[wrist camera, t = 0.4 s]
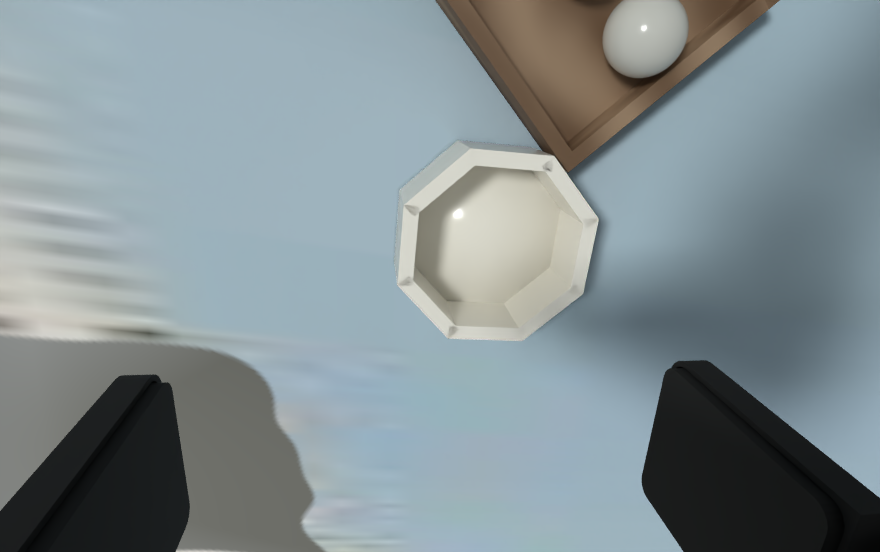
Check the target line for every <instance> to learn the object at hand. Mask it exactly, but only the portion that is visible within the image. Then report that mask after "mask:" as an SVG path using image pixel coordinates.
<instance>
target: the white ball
mask: <svg viewBox="0 0 880 552" xmlns="http://www.w3.org/2000/svg"><path fill="white" fill-rule="evenodd" d="M688 33H689V21H688V16H687V13H686V10H685V8H684V7H683V5H682V4H681V2H680V1H679V0H623V1H621V2H620V3H619V4H618V5H617V6H616V7H615V9H614V10H613V11H612V13H611V14H610V16H609V17H608V19H607V22H606V24H605V27H604V31H603V37H602V44H603V51H604V54H605V57H606V59H607V61H608V62H609V64H610V65H611V66H612V67H613V68H614V69H615V70H616V71H617V72H619V73H620V74H622V75H625V76H627V77H632V78H646V77H651V76H654V75H656V74H659V73H660V72H662V71H664V70H665V69H667V68H668V67H669V66H671V65H672V64H673V63H674V62H675V61H676V59H677V58H678V57H679V55H680V54H681V52H682V51H683V49H684V47H685V44H686V41H687V38H688Z"/></svg>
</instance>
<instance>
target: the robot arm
mask: <svg viewBox="0 0 880 552" xmlns="http://www.w3.org/2000/svg"><path fill="white" fill-rule="evenodd" d="M642 487H643V490H644V493H645V495H646V497H647V498H648V500H649V501H650V503H651V504H652V506H653V507H654V509H655V510H656V512H657V513H658V515H659V516H660V518H661V519H662V521H663V522H664V524H665V525H666V526H667V528H668V529H669V531H670V532H671V534H672V535H673V537H674V538H675V540H676V541H677V543H678V544H679V546H680V547H681V549H682V550H683V552H880V498H879V497H878V496H876V495H875V494H874V493H873V492H871V491H870V490H869V489H868V488H866V487H865V486H864V485H863V484H862V483H860V482H859V481H858V480H857V479H855V478H854V477H853V476H852V475H850V474H849V473H848V472H847V471H845V470H844V469H843V468H842V467H840V466H839V465H838V464H837V463H835V462H834V461H833V460H832V459H830V458H829V457H828V456H827V455H825V454H824V453H823V452H822V451H820V450H819V449H818V448H817V447H815V446H814V445H813V444H812V443H810V442H809V441H808V440H807V439H805V438H804V437H803V436H802V435H800V434H799V433H798V432H797V431H795V430H794V429H793V428H792V427H790V426H789V425H788V424H787V423H785V422H784V421H783V420H782V419H780V418H779V417H778V416H777V415H775V414H774V413H773V412H772V411H770V410H769V409H768V408H767V407H766V406H764V405H763V404H762V403H761V402H759V401H758V400H757V399H756V398H754V397H753V396H752V395H751V394H749V393H748V392H747V391H746V390H744V389H743V388H742V387H741V386H739V385H738V384H737V383H736V382H734V381H733V380H732V379H731V378H729V377H728V376H727V375H726V374H724V373H723V372H722V371H721V370H719V369H718V368H717V367H716V366H714V365H713V364H712V363H710V362H709V361H704V360H700V361H678V362H676V363H674V365H673V366H672V368H670V369H668V370H667V371H666V372H665V375H664V378H663V383H662V388H661V392H660V397H659V401H658V406H657V410H656V415H655V419H654V424H653V428H652V433H651V437H650V442H649V446H648V451H647V455H646V460H645V464H644V469H643V473H642ZM189 509H190V504H189V496H188V491H187V483H186V477H185V470H184V464H183V458H182V451H181V444H180V437H179V431H178V425H177V418H176V412H175V405H174V398H173V392H172V387H171V385H170V384H169V383H161V380H160V378H159V377H158V376H157V375H124V376H119V377H118V378H117V379H115V381H114V382H113V383H112V384H111V385H110V386H109V387H108V389H107V390H106V391H105V392H104V393H103V394H102V395H101V397H100V398H99V399H98V400H97V401H96V402H95V403H94V405H93V406H92V407H91V408H90V409H89V410H88V411H87V413H86V414H85V415H84V416H83V417H82V418H81V420H80V421H79V422H78V423H77V424H76V425H75V426H74V428H73V429H72V430H71V431H70V432H69V433H68V434H67V435H66V437H65V438H64V439H63V440H62V441H61V442H60V443H59V445H58V446H57V447H56V448H55V449H54V450H53V451H52V453H51V454H50V455H49V456H48V457H47V458H46V459H45V461H44V462H43V463H42V464H41V465H40V466H39V468H38V469H37V470H36V471H35V472H34V473H33V474H32V475H31V477H30V478H29V479H28V480H27V481H26V482H25V483H24V485H23V486H22V487H21V488H20V489H19V490H18V491H17V493H16V494H15V495H14V496H13V497H12V498H11V500H10V501H9V502H8V503H7V504H6V505H5V506H4V507H3V509H2V510H1V511H0V552H176V549H177V547H178V545H179V542H180V540H181V537H182V535H183V533H184V530H185V528H186V525H187V522H188V518H189Z"/></svg>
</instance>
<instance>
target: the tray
mask: <svg viewBox="0 0 880 552" xmlns="http://www.w3.org/2000/svg"><path fill="white" fill-rule="evenodd" d="M621 1H623V0H436V2H437V3H438V5H439V6H440V7H441V9H442V10H443V12H444V13H445V15H446V16H447V17H448V19H449V20H450V22H451V23H452V24H453V26H454V27H455V29H456V30H457V31H458V33H459V34H460V36H461V37H462V38H463V40H464V41H465V43H466V44H467V45H468V47H469V48H470V50H471V51H472V52H473V54H474V55H475V57H476V58H477V60H478V61H479V62H480V64H481V65H482V67H483V68H484V69H485V71H486V72H487V74H488V75H489V76H490V78H491V79H492V81H493V82H494V83H495V85H496V86H497V88H498V89H499V90H500V92H501V93H502V95H503V96H504V97H505V99H506V100H507V102H508V103H509V104H510V106H511V107H512V109H513V110H514V112H515V113H516V114H517V116H518V117H519V119H520V120H521V121H522V123H523V124H524V126H525V127H526V128H527V130H528V131H529V133H530V134H531V135H532V137H533V138H534V140H535V141H536V142H537V144H538V145H539V147H540V148H541V149H542V151H543V152H545V153H548V154H550V155H553V156H555V158H556V159H557V161H558V162H559V163H560V165H561V166H562V168H563V169H564V170H565V171H566V172H569V171H571V170H572V169H573V168H574V167H576V166H577V165H578V164H579V163H581V162H582V161H583V160H584V159H585V158H587V157H588V156H589V155H590V154H592V153H593V152H594V151H595V150H596V149H598V148H599V147H600V146H601V145H603V144H604V143H605V142H606V141H608V140H609V139H610V138H611V137H612V136H614V135H615V134H616V133H617V132H619V131H620V130H621V129H622V128H623V127H625V126H626V125H627V124H628V123H630V122H631V121H632V120H633V119H635V118H636V117H637V116H638V115H639V114H641V113H642V112H643V111H644V110H646V109H647V108H648V107H649V106H651V105H652V104H653V103H654V102H655V101H657V100H658V99H659V98H660V97H662V96H663V95H664V94H665V93H666V92H668V91H669V90H670V89H671V88H673V87H674V86H675V85H676V84H678V83H679V82H680V81H681V80H682V79H684V78H685V77H686V76H687V75H689V74H690V73H691V72H692V71H693V70H695V69H696V68H697V67H698V66H700V65H701V64H702V63H703V62H705V61H706V60H707V59H708V58H709V57H711V56H712V55H713V54H714V53H716V52H717V51H718V50H719V49H721V48H722V47H723V46H724V45H725V44H727V43H728V42H729V41H730V40H732V39H733V38H734V37H735V36H736V35H738V34H739V33H740V32H741V31H743V30H744V29H745V28H746V27H748V26H749V25H750V24H751V23H752V22H754V21H755V20H756V19H757V18H759V17H760V16H761V15H762V14H763V13H765V12H766V11H767V10H768V9H770V8H771V7H772V6H773V5H775V4H776V3H777V2H778V1H779V0H679V1H680V2H681V4H682V5H683V7H684V8H685V10H686V13H687V16H688V21H689V33H688V38H687V41H686V44H685V47H684V49H683V51H682V52H681V54H680V55H679V57H678V58H677V59H676V61H675V62H674V63H673V64H672V65H671V66H669V67H668V68H667V69H665V70H664V71H662V72H660V73H659V74H656V75H654V76H651V77H646V78H632V77H627V76H625V75H622V74H620V73H619V72H617V71H616V70H615V69H614V68H613V67H612V66H611V65H610V64H609V62H608V61H607V59H606V57H605V54H604V51H603V44H602V37H603V31H604V27H605V24H606V22H607V19H608V17H609V16H610V14H611V13H612V11H613V10H614V9H615V7H616V6H617V5H618V4H619V3H620V2H621Z"/></svg>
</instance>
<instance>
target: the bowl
mask: <svg viewBox="0 0 880 552" xmlns="http://www.w3.org/2000/svg"><path fill="white" fill-rule="evenodd" d="M598 221H599V219H598V217H597V216H596V214H595V213H594V212H593V210H592V209H591V207H590V206H589V205H588V203H587V202H586V200H585V199H584V197H583V196H582V195H581V193H580V192H579V190H578V189H577V188H576V186H575V185H574V183H573V182H572V180H571V179H570V178H569V176H568V175H567V173H566V172H565V170H564V169H563V168H562V166H561V165H560V163H559V162H558V161H557V159H556V158H555V156H553V155H550V154H548V153H545V152H543V151H540V150H537V149H535V148H532V147H525V146H514V145H503V144H493V143H482V142H471V141H461V140H457V141H456V142H455V143H454V144H453V145H451V146H450V147H449V148H448V149H447V150H445V151H444V152H443V153H442V154H441V155H440V156H438V157H437V158H436V159H435V160H434V161H433V162H431V163H430V164H429V165H428V166H427V167H426V168H424V169H423V170H422V171H421V172H420V173H419V174H417V175H416V176H415V177H414V178H413V179H412V180H410V181H409V182H408V183H407V184H406V185H405V186H403V187H402V188H401V189H400V190H399V202H398V215H397V229H396V242H395V256H394V264H395V272H396V279H397V285H398V286H399V287H400V288H401V290H402V291H403V292H404V293H405V294H406V295H407V296H408V297H409V298H410V299H411V300H412V301H413V302H414V303H415V304H416V305H417V306H418V307H419V308H420V310H421V311H422V312H423V313H424V314H425V315H426V316H427V317H428V318H429V319H430V320H431V321H432V322H433V323H434V324H435V325H436V326H437V327H438V329H439V330H440V331H441V332H442V333H443V334H444V335H445V336H446V337H447V338H448V339H475V340H506V341H523V340H524V339H526V338H527V337H528V336H529V335H531V334H532V333H533V332H535V331H536V330H537V329H539V328H540V327H541V326H542V325H544V324H545V323H546V322H548V321H549V320H550V319H551V318H553V317H554V316H555V315H557V314H558V313H559V312H561V311H562V310H563V309H564V308H566V307H567V306H568V305H570V304H571V303H572V302H573V301H575V300H576V299H577V298H579V297H580V296H581V295H583V292H584V287H585V282H586V278H587V273H588V268H589V263H590V259H591V254H592V249H593V244H594V240H595V235H596V230H597V226H598Z"/></svg>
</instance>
